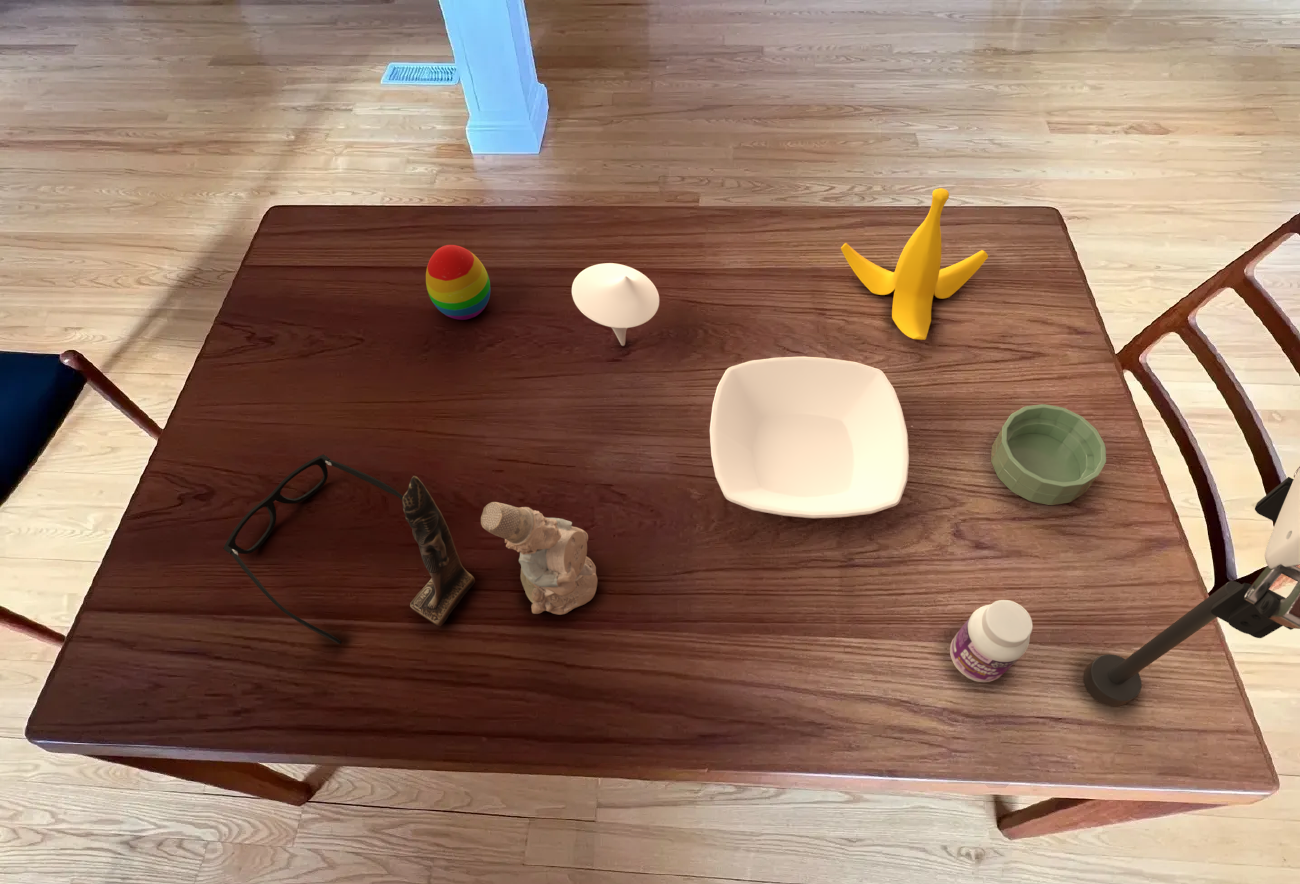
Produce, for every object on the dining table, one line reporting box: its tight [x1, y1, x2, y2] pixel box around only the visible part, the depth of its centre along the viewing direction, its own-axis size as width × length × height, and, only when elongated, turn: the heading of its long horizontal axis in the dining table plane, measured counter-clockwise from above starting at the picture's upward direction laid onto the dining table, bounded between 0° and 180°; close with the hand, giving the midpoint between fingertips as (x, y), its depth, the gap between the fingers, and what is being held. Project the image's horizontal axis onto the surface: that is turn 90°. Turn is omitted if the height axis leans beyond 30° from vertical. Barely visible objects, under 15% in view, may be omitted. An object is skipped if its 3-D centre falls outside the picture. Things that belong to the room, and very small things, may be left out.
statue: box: [401, 475, 476, 627], centre depth 76 cm, size 4×7×20 cm, turn 149°
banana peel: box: [840, 187, 989, 341], centre depth 97 cm, size 17×19×17 cm
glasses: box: [223, 453, 404, 645], centre depth 86 cm, size 17×18×5 cm
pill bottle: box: [949, 599, 1034, 683], centre depth 74 cm, size 5×5×10 cm
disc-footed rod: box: [1082, 580, 1243, 708], centre depth 66 cm, size 4×4×22 cm
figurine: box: [480, 501, 599, 616], centre depth 76 cm, size 9×8×20 cm
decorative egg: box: [425, 244, 491, 321], centre depth 104 cm, size 8×8×10 cm
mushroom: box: [571, 262, 660, 347], centre depth 98 cm, size 10×11×12 cm
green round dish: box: [990, 403, 1107, 506], centre depth 87 cm, size 11×11×4 cm
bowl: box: [709, 356, 910, 519], centre depth 89 cm, size 22×22×5 cm
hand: (1256, 569), depth 55 cm, fingers open, 9 cm apart
